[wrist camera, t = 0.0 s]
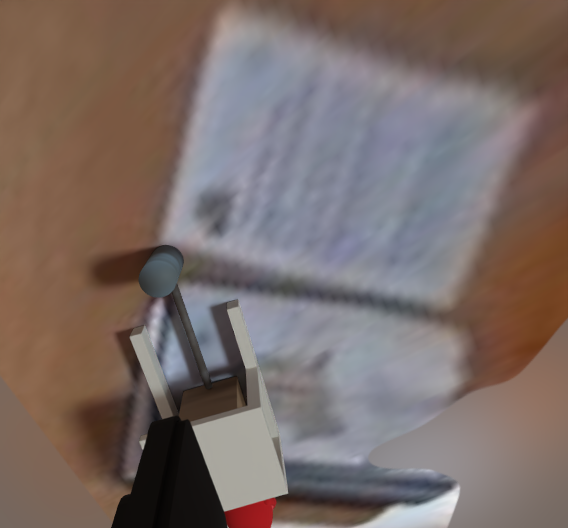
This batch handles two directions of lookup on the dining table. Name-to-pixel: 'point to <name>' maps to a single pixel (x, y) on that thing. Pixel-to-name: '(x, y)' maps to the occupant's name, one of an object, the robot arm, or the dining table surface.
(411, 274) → the dining table surface
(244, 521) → the cap
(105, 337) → the dining table surface
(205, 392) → the knobbed lever joystick
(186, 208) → the dining table surface
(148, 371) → the lever switch box
